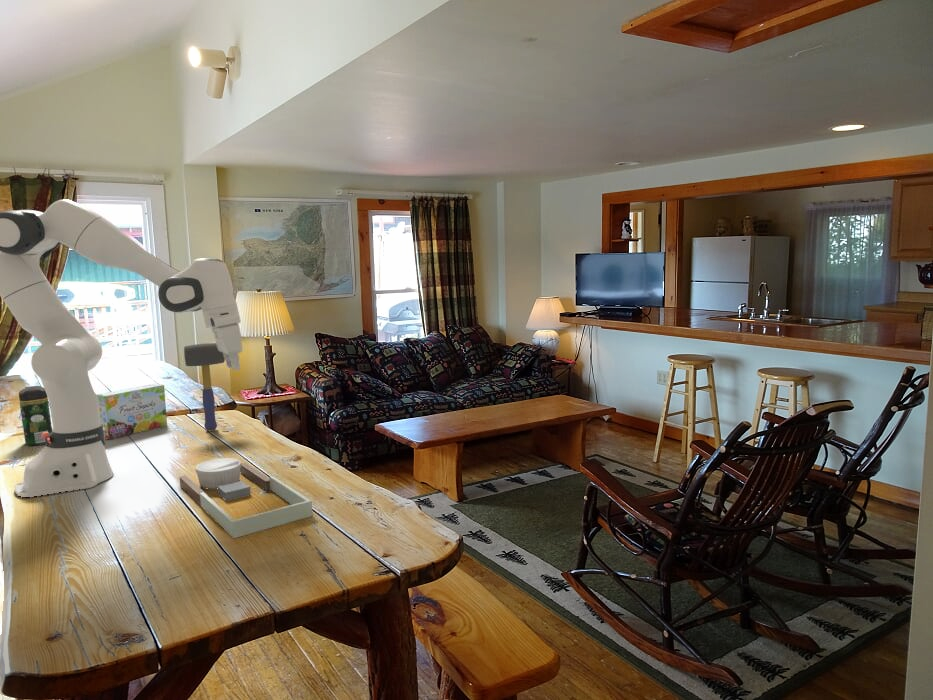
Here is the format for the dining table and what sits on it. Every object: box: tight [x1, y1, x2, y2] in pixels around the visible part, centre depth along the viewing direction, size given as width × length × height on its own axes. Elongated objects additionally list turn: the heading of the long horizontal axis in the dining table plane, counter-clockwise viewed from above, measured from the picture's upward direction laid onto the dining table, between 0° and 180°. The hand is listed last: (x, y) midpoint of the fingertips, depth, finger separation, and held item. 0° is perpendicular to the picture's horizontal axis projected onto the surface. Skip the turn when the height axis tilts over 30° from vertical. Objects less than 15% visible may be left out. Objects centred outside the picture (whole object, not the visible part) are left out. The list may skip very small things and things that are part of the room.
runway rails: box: [179, 462, 271, 505], centre depth 168 cm, size 17×19×2 cm
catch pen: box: [200, 475, 313, 539], centre depth 151 cm, size 18×23×4 cm
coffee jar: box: [18, 385, 53, 446], centre depth 216 cm, size 10×8×19 cm
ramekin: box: [194, 457, 242, 490], centre depth 171 cm, size 11×11×5 cm
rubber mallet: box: [183, 342, 226, 432], centre depth 223 cm, size 12×8×30 cm, turn 117°
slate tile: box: [217, 480, 252, 502], centre depth 163 cm, size 6×6×2 cm
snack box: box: [96, 383, 168, 440], centre depth 226 cm, size 21×6×15 cm, turn 148°
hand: (233, 368), depth 177 cm, fingers open, 8 cm apart
